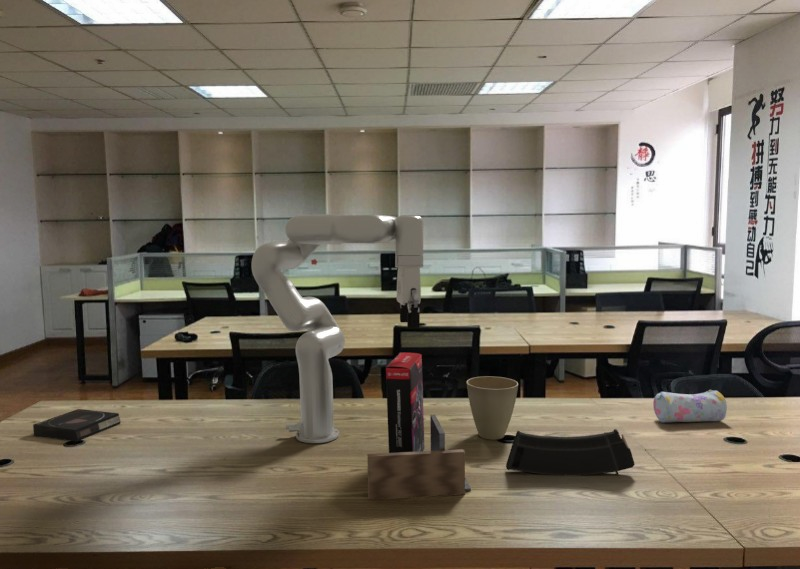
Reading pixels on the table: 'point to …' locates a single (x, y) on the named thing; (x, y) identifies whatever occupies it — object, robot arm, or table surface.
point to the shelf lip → (416, 474)
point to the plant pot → (492, 404)
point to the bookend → (440, 440)
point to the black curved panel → (570, 454)
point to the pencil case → (690, 407)
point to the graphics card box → (405, 403)
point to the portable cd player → (76, 425)
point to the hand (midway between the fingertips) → (409, 324)
